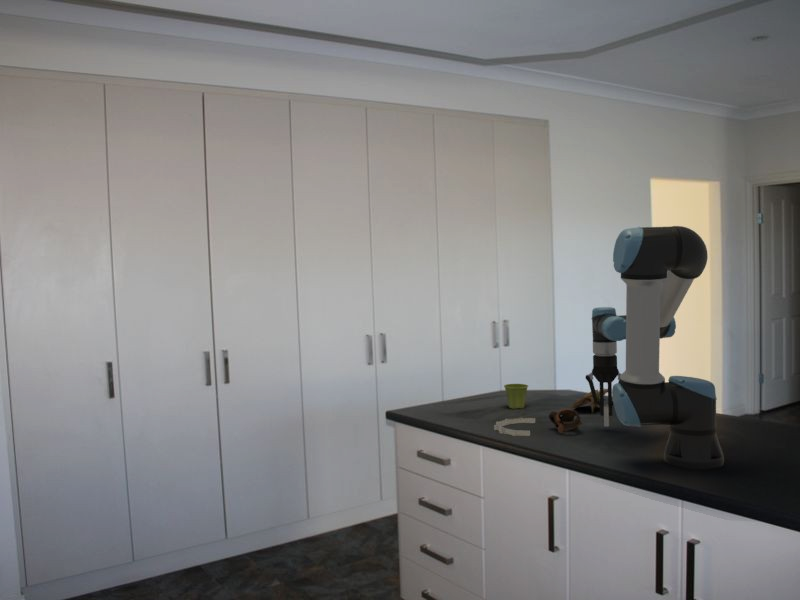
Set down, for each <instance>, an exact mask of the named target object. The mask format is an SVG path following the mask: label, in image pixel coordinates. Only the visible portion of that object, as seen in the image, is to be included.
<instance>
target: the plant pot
mask: <svg viewBox="0 0 800 600" xmlns="http://www.w3.org/2000/svg"><path fill="white" fill-rule="evenodd" d="M503 387H504V389H505V392H506V398H507V404H508V408H510V409H512V410H513V409H514V410H516V409H524V408H525V405H526V398H527V397H526V396H527V390H528V387H529V385H528V384H524V383H508V384H504V385H503Z"/></svg>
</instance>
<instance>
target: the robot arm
mask: <svg viewBox="0 0 800 600" xmlns="http://www.w3.org/2000/svg"><path fill="white" fill-rule="evenodd" d="M612 262H613V268H614V271H616V272H617V273H618V274H620V279H621V280H622V281H623V282H624V283H625V285H626V296H625V297H626V299H625V301H626V302H625V303H626V304H625V309H626V310H625V313H626V315H618V314H617V311H616V308H614V307H611V306H610V307H609V306H606V307H605V306H603V307H602V306H601V307H594V308H593V309H592V310H591V311H592V312H591V325H592V328H591V329H592V330H591V331H592V353H593V356H592V362H593V363H592V365H593V367H592V370H591V372H590V373H589V374H586V375H585V380H586V382H587V383H588V385H589V389H590V392H591V393H592V396H593V400H594V403H595V404H597V405H599V406H600V408H599V413H600V414H599V415H600V416H603V427H610V419H609V417H612V416H613V407H614V410H615V414H616V417H617V418H618V420H619V422H620V423H621V424H623V425H624V426H626V427H639V428H641V427H652V426H653V427H656V426H669V436H668V439H667V442H666V444H665V447H664V450H663V461H664V462H665V463H666V464H669V465H671V466H673V467H678V468H681V467H682V468H681V469H688V468H689V469H688V470H712V469H713V470H714V469H718V468H721V467H722V466H724V464H725V457H724V456H725V455H724V452H723V449H722V447H721V443H720V441H719V439H718V435H717V394H716V387H715V384H714V383H713V382H712V381H709V380H707V379H703V378H698V377H692V376H686V375H685V376H684V375H671V376H669V378H668V381H667V382H666V378H665V376H664V375H663V374H662V373H661V372H660V343H661V342H660V339H661V340H662V339H665V338H667V339H668V338H672V337H674V335H675V334H676V328H677V324H676V319H675V315H676V313H677V311H678V310H679V308H680V306H681V304H682V302H683V300H684V298H685V297H686V295H687V293H688V291H689V290H690V288H691V286H692V284H693V282H694V281H695V279H697V278H700V277H701V275H702V274H703V272H704V270H705V268H706V266H707V264H708V263H707V262H708V249H707V245H706V243H705V242H704V240H703V238H702V237H701V236H700V235H699V234H698V233H697V232H696V231H695V230H693V229H691V228H689V227H686V226H681V225H673V226H646V227H644V226H638V227H631V228H625V229H623V230H622V231H620V233H619V234H618V236H617V238H616V240H615V243H614V248H613V253H612ZM621 341H625V370H624V371H623V373H620V371H619V368H618V355H617V352H618V349H617V348H618V344H617V342H621ZM594 378H595V379H596V381H597V382H598V383H599V390H600V397H599V398H600V401H599V400H598V399H597V395H596V391H595V390H596V388H595V384H594ZM616 378H617V380H618V382H617V383H614V384H612V383H613V382H614V381H615V379H616ZM604 383H605V384H606V383H607V389H608V392H607V403H608V404H605V402H604V401H605V400H604V399H605V397H604V396H605V395H604V389H605V388H604Z"/></svg>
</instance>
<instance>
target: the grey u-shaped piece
mask: <svg viewBox="0 0 800 600" xmlns="http://www.w3.org/2000/svg"><path fill="white" fill-rule="evenodd" d="M514 424H536V418H535V417H516V418H505V419H504V420H500V421H499V420H498V421H496V422H495V424H494V425H493V430H494V431H498V433H499V434H501V435H502V434H505V435H509V436H510V435H511V436H512V437H516V436H519V437H522V436H524V437H530V436H531V430H525V429H524V430H523V429H522V430H521V429H519V430H518V429H517V430H516V429H511V428H506V427H505V426H509V425H514Z"/></svg>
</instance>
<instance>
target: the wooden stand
mask: <svg viewBox="0 0 800 600" xmlns="http://www.w3.org/2000/svg"><path fill="white" fill-rule="evenodd" d="M595 391H596V395H597V399H598V400H599V401H600V389H595ZM606 394H608V388H604V396H605V395H606ZM606 400H607V399H605V398H604V401H606ZM589 403H590V409H591V414H593V413H594V410H595V408H598V409H600V406H599V405H597V404H595V403H594V400H593V396H592V393H591V391H590V392H588V393H587V394H585V395H584V396H582V397H580V398H579V399H577V400H576V401H575V402H574V403H573V404H572V405H571V407H570V409H577V408H580V407H583V406H585V405H587V404H589Z"/></svg>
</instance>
